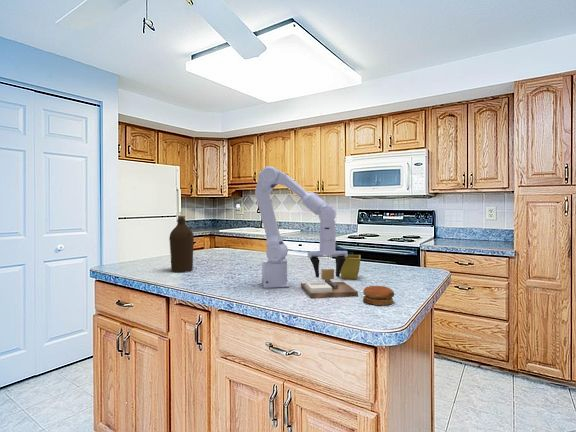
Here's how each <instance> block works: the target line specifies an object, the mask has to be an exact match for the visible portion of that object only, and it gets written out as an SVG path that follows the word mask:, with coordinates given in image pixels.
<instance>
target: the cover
mask: <svg viewBox="0 0 576 432" xmlns="http://www.w3.org/2000/svg"><path fill="white" fill-rule="evenodd" d="M304 283H305V287H306V288H307V289H308V290H309V291H310V292H311V293H321V292H332V287H331V286H330V285H328V284H327V283H326V282H325V280H317V281H316V280H315V281H304Z"/></svg>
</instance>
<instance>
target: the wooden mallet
mask: <svg viewBox="0 0 576 432" xmlns="http://www.w3.org/2000/svg"><path fill="white" fill-rule="evenodd" d="M320 279H321V281H325V282H326V283H327V284H328V285H330V286H331V287H332V288H334V289H338V285H337V284H335V283H333V282H334V281H332V280H335V269H333V268H324V269H321V268H320Z"/></svg>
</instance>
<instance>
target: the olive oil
mask: <svg viewBox="0 0 576 432" xmlns="http://www.w3.org/2000/svg"><path fill="white" fill-rule="evenodd" d="M194 239H195V238H194V233H193V231H192V230H191V228H189V227H188V225H187V224H186V215H178V216H177V225H176V226H175V227H174V228H173V229H172V230H171V232H170V234H169V239H168V240H169V250H170V251H169V252H170V269H171V270H170V271H171V272H172V271H173V272H172V273H186V272H185V271H189V272H192V271H193V270H194V268H193V267H194V241H195V240H194ZM191 270H192V271H191Z"/></svg>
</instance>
